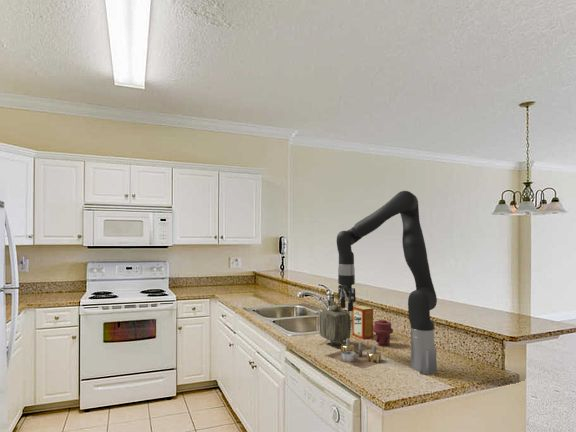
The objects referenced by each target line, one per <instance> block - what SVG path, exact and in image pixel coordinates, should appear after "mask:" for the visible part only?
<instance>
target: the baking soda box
mask: <svg viewBox="0 0 576 432" xmlns="http://www.w3.org/2000/svg"><path fill="white" fill-rule="evenodd" d="M351 321H352V322H351V323H352V325H351V328H352V329H351V333H352V336H354V337H357V338H359V339H361V340H367V339H373V338H374V332H373V327H374V308H372V307H368V306H365V305H356V306H354V305H353V311H352V319H351Z"/></svg>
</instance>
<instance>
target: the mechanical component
mask: <svg viewBox="0 0 576 432" xmlns="http://www.w3.org/2000/svg"><path fill="white" fill-rule="evenodd" d="M374 333H375V342H376V344H377V345H378V347H385V346H387V347H388V346H390V342H391V341H390V339H391V334H393V333H394V329H393V328H392V322H390V321H387V320H386V319H378V320H375V321H373V334H374Z"/></svg>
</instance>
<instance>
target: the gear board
mask: <svg viewBox="0 0 576 432" xmlns="http://www.w3.org/2000/svg"><path fill="white" fill-rule="evenodd" d="M350 344H351V343H350V338H347V339H346V346H350ZM371 351H372V354H376V352H377V347H376V345H372V346H371ZM355 353H356V360H355V361H354V362H346V361H343V360H342V359H341V358H342V352H341V350H340V351H335V352H332V353H328V354H324V356H325V357H327V358H331V359H334V360H336V361H339V362H342V363H345V364H348V365H351V366H354V367H356V368H360V369H366V368H369V367H371V366H375V365H378V364H381V363H384V362H386V361H387V360H385V359H382V358H381V362H379V363H376V362H373V363H372V362H370V361H367V353H363V342H362V341H359V342H358V351H356V350H355Z"/></svg>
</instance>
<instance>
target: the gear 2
mask: <svg viewBox="0 0 576 432" xmlns="http://www.w3.org/2000/svg"><path fill="white" fill-rule="evenodd" d="M366 355H367V361H370V362H372V363H373V362H376V363H378V364H380V363H379V362H381V359H382V352H378V351H376V354H372V350H371V351H367V352H366ZM381 363H382V362H381Z"/></svg>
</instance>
